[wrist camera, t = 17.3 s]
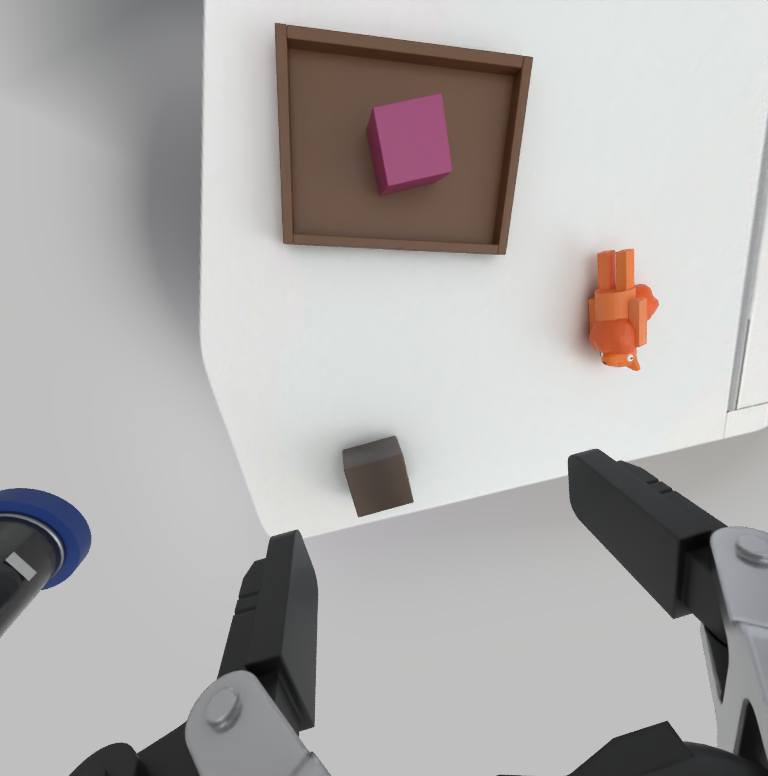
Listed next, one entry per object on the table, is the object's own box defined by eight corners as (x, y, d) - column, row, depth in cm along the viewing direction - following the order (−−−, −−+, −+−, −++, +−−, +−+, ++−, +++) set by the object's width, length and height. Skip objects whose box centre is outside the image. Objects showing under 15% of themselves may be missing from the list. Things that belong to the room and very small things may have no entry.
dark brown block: (355, 495, 43) (358, 517, 40) (342, 449, 41) (343, 469, 37) (406, 481, 44) (413, 502, 40) (395, 435, 42) (402, 453, 38)
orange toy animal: (623, 255, 32) (624, 384, 37) (676, 236, 35) (671, 358, 39) (571, 259, 37) (578, 374, 41) (622, 242, 39) (623, 351, 44)
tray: (285, 244, 34) (283, 243, 32) (278, 39, 29) (274, 22, 27) (495, 254, 37) (506, 254, 35) (519, 69, 32) (533, 56, 30)
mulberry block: (379, 196, 33) (388, 186, 28) (365, 129, 31) (372, 107, 26) (435, 183, 33) (452, 171, 28) (424, 116, 31) (442, 92, 27)
